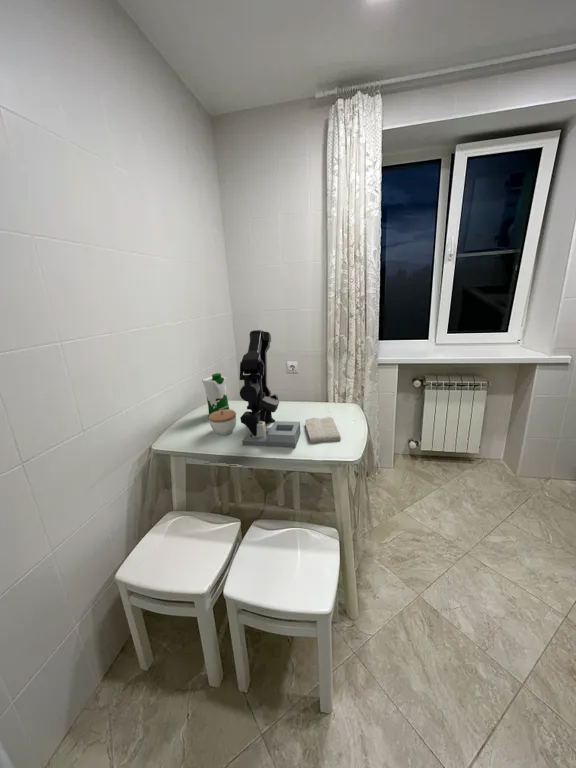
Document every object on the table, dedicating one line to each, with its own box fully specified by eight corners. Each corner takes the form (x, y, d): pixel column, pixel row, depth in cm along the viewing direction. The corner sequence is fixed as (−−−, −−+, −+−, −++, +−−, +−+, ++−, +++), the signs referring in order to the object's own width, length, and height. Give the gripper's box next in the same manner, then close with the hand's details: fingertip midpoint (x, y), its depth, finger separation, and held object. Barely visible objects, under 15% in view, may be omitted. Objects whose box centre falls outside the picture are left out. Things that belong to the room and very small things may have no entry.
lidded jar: (236, 436, 116) (233, 414, 113) (209, 439, 116) (205, 417, 113) (239, 424, 126) (236, 404, 123) (214, 427, 126) (210, 406, 123)
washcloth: (332, 421, 124) (331, 414, 123) (342, 441, 107) (342, 434, 106) (304, 423, 124) (303, 417, 123) (309, 445, 107) (309, 437, 106)
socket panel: (242, 445, 109) (241, 433, 107) (252, 431, 119) (250, 420, 118) (295, 447, 104) (294, 435, 103) (300, 433, 115) (299, 421, 113)
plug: (253, 440, 112) (251, 423, 110) (255, 436, 115) (253, 419, 113) (264, 440, 111) (262, 423, 109) (266, 437, 114) (264, 419, 112)
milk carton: (218, 420, 132) (212, 377, 126) (205, 416, 138) (198, 375, 131) (233, 413, 139) (227, 372, 133) (220, 409, 144) (214, 370, 138)
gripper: (269, 401, 97) (273, 443, 101) (281, 383, 114) (284, 420, 119) (237, 400, 99) (242, 441, 104) (254, 383, 116) (258, 419, 121)
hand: (259, 430), depth 112 cm, fingers open, 9 cm apart
